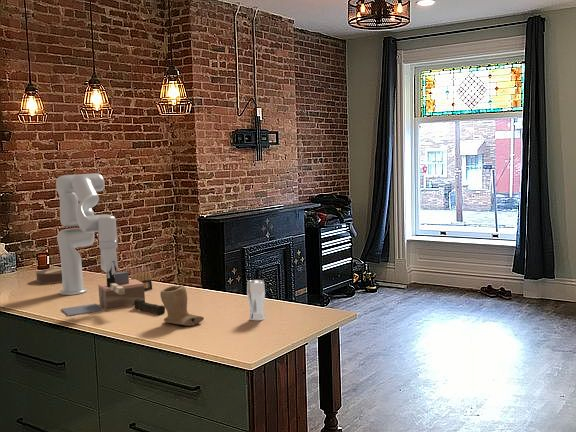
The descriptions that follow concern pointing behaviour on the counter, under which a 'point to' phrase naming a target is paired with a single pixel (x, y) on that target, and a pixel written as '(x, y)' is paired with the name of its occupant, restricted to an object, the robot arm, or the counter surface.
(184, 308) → the brown boot
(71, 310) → the mat
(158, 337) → the counter surface
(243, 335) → the counter surface
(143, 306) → the black rough elongated piece
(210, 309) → the counter surface
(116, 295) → the toolbox
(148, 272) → the ammunition clip
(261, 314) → the beer glass
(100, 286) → the lid
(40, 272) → the container
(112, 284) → the rectangular bar
